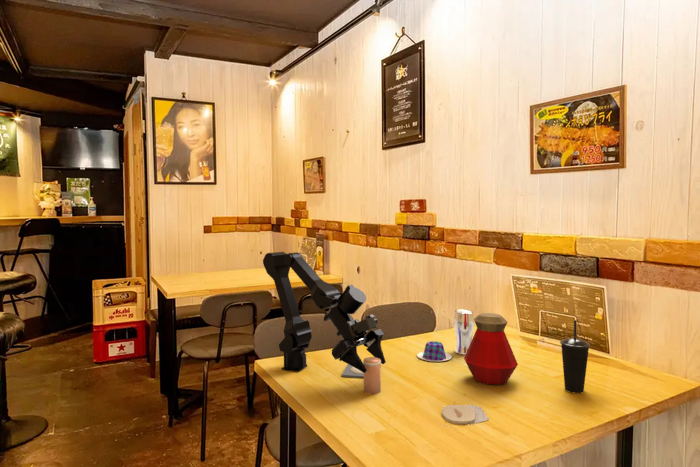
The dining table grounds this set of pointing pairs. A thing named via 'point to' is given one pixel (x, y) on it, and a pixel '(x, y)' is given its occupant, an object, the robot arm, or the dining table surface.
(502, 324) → the bottle
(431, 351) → the pudding
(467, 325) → the beer glass
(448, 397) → the dining table surface
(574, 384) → the drinking cup
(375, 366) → the terracotta tube
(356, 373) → the card
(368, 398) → the dining table surface
